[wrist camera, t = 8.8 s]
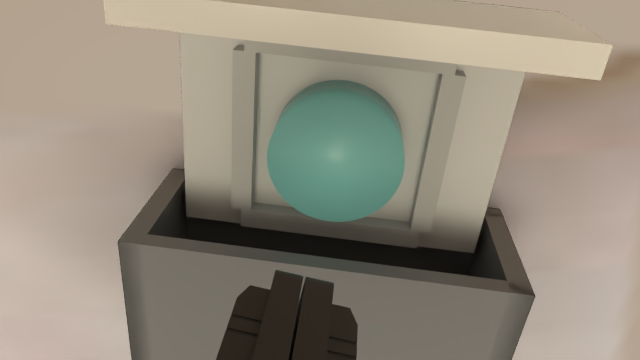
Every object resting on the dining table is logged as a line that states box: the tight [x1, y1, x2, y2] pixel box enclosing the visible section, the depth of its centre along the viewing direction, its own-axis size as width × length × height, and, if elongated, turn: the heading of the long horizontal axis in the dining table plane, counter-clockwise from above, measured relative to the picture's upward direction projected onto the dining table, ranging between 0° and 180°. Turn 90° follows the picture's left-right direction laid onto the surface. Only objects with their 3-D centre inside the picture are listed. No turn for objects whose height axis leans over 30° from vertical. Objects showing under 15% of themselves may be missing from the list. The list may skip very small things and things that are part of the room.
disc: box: [267, 80, 405, 222], centre depth 24 cm, size 6×6×2 cm
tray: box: [103, 0, 613, 253], centre depth 23 cm, size 12×17×6 cm
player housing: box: [118, 169, 535, 360], centre depth 28 cm, size 12×18×7 cm, turn 85°
